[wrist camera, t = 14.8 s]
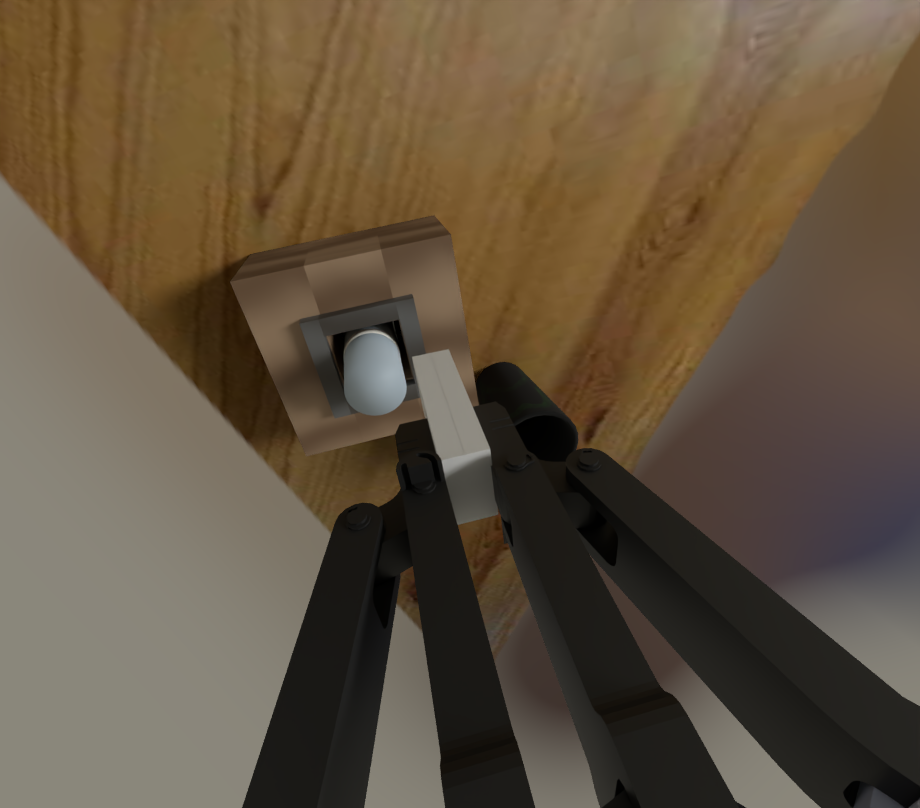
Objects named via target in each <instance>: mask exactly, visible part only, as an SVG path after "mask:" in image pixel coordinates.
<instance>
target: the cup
mask: <svg viewBox="0 0 920 808" xmlns="http://www.w3.org/2000/svg"><path fill="white" fill-rule="evenodd" d="M476 391H477V397H478V401H479V405H483V404H487V403H491V402H497V403H498V404H500V405H501V406H503V407H504V408H505V409H506V411H507V412H508V414H509V416H510V418H511V420H512V422H513V425H514V426H515V428H516V430H517V432H518V433H519V435H520V437H521V439H522V441H523V443H524V445H525V447H526V449H527V450H528V451H529V452H531V453H533V454H534V455H535V456H536V457H537V458H538V459H540V460H543V461H550V462H566V459H567V457H568V455H569V454H570V453H572V452H573V451H575V450H576V448H577V444H578V432H577V429H576V426H575V425H574V424H573V422H572V421H571V420H570V419H569V418H568V417H567V416H566V415H565V414H564V413H563V412H562V411H561V410H560V409H559V408H558V407H557V406H556V405H555V404H554V403H553V402H552V401H551V400H550V399H549V398H548V397H547V396H546V394H545V393H544V392H543V391H542V390H541V389H540V388H539V387H538V386H537V385H536V384H535V383H534V382H533V381H532V380H531V379H530V378H529V377H528V376H527V375H526V374H525V373H524V372H523V371H522V370H521V369H520V368H519V367H517V366H516V365H514V364H512V363H507V362H500V363H496V364H493V365H491V366H489V367H487V368H486V369H485V370H484V371H483V372H482V373H481V374H480V376H479V377H478V379H477V382H476Z"/></svg>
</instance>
